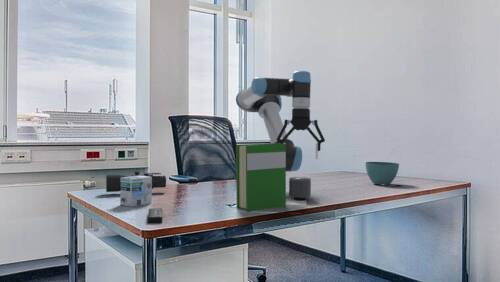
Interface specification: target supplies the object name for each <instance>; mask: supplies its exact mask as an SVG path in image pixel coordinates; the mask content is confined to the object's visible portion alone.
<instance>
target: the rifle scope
mask: <svg viewBox="0 0 500 282" xmlns="http://www.w3.org/2000/svg"><path fill="white" fill-rule="evenodd" d="M132 176H140V171H134V175H130V176H129V175H123V174H106V176H105V177H106V179H105V180H106V182H105V184H106V185H105V188H106V189H105V191H106V193H113V192H114V193H115V192H116V193H117V192H120V187H121V178H122V177H132ZM141 176H149V177H152V190H153V189H154V188H155V189H156V188H166V187H167V177H166V175H161V172H152V173H151V172H144V173H143V174H141Z"/></svg>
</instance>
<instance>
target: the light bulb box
mask: <svg viewBox="0 0 500 282" xmlns="http://www.w3.org/2000/svg"><path fill="white" fill-rule="evenodd" d="M141 175H142V174H141ZM141 175H140V174H139V176H135V175H133V176H132V175H131V176H132V177H131V176H129V177H122V178H121V187H120V191H119V192H120V195H119V196H120V202H119V203H120V206H126V207H130V208H132V207H137V206H138V207H139V206H144V205H149V204H152V195H153V193H152V192H153V191H152V190H153V189H152V177H149V176H141Z"/></svg>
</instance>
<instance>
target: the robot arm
mask: <svg viewBox="0 0 500 282" xmlns="http://www.w3.org/2000/svg"><path fill="white" fill-rule="evenodd" d="M311 77H312V76H311V73H310V72H309V71H306V70H299V71H298V70H297V71H294V72H293V73H292V78H281V77H279V78H276V77H262V76H260V77H258V76H256V77H254V78H253V79H252V81H251V85H250V86H249V87H248V88H245V89H241V90H240V91H239V92H238V93H237V94H236V97H235V102H236V104H237V107H238V108H240V109H241V110H242V111H244V112H247V113H258V116H259V117H260V118H261V119H263V122H264V124H265V128H266V131H267V134H268V137H269V140H270V143H278V144H286V172H289V173H291V172H297V171H298V170H300V168H301V167H302V162H303V150H302V148H301V147H300V146H295V144H294V141H292V140H291V139H289V136H290V135H291V134H292V133H293V132H294V131H295V130H296V131H306V130H307V131H308V133H310V135H311V136H312V138H313V139H314V140H315V141H316V143H315V160H318V159H319V158H318V155H319V154H318V153H319V152H320V151H321V144H322V143H325V141H326V140H325V137H324V135H323V133H322V131H321V129H320V126H319V125H318V120H317V119H315V120H313V119H312V120H311V110H310V108H311V83H312V80H311V79H312V78H311ZM281 96H283V97H284V96H285V97H291V98H292V100H291V101H292V104H291V105H292V109H291V120H290V119H284V123H283V120H282V119H281V115H280V112H281V110H282V107H283V105H282V104H283V102H282V97H281ZM290 124H291V126H292V127H291V128H290V130H289V131H288V132H286V128H287V126H288V125H290ZM310 125H313V126H314V127H315V129H316V132H317V134H318V135H319V137H318V136H317V135H316V134H315V133H314V131H312V130H313V129H311V128H310V127H309V126H310ZM319 138H320V139H319Z"/></svg>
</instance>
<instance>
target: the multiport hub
mask: <svg viewBox="0 0 500 282" xmlns="http://www.w3.org/2000/svg"><path fill="white" fill-rule="evenodd" d="M161 223H163V208H162V207H161V208H158V207H157V208H149V209H148V214H147V224H161Z"/></svg>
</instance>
